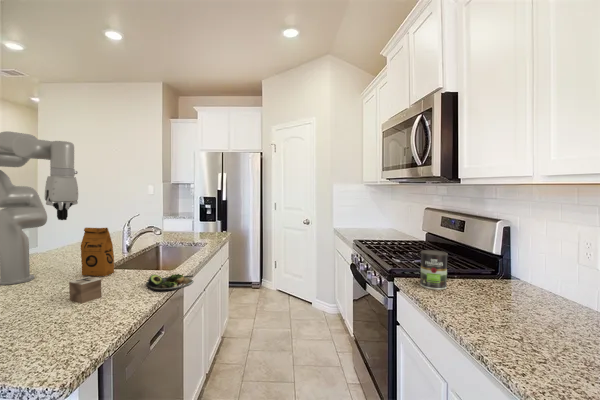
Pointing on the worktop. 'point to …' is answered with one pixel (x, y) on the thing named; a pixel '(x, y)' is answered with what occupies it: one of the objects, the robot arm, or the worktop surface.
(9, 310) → the worktop surface
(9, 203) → the robot arm
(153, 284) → the salad plate
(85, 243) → the coffee package
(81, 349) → the worktop surface
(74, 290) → the letter block
